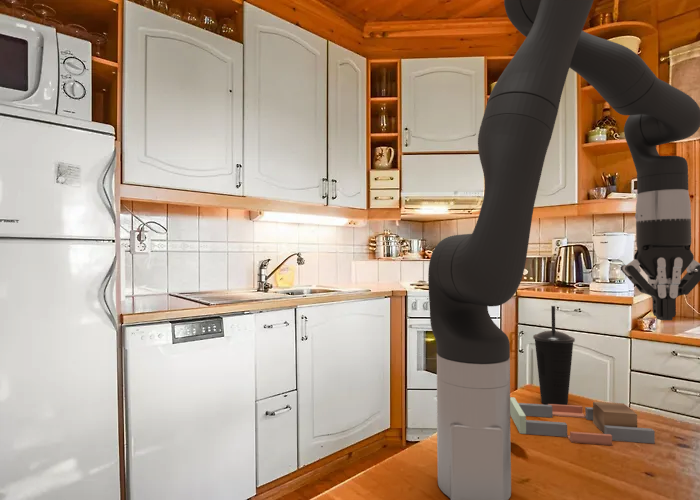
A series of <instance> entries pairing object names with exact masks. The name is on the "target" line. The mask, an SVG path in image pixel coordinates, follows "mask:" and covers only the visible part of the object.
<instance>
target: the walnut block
mask: <svg viewBox="0 0 700 500" xmlns="http://www.w3.org/2000/svg"><path fill="white" fill-rule="evenodd" d="M592 407H593V420H592V424H594V426H595V427H596V428H597V429H598V430H599V431H600V432H601V434H604V425H607V426H622V427H637V428H638V414H637V413H636V412H635V410H633V409H632V408H631V407H629V406H628V405H626V404H625V403H623V402H621V403H620V402H605V401H592Z"/></svg>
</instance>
